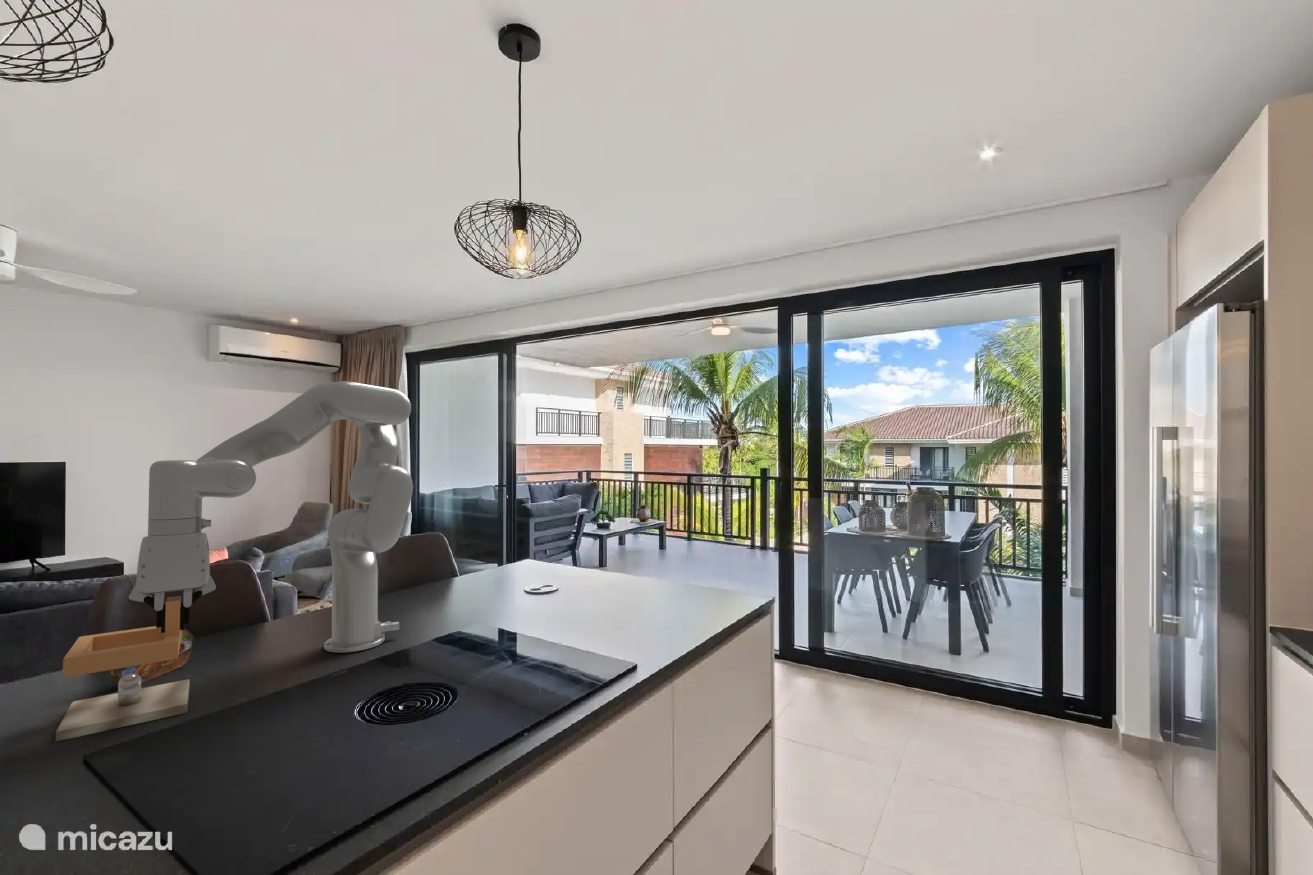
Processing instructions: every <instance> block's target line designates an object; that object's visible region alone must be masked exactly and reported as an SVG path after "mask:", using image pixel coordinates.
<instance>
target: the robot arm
mask: <svg viewBox="0 0 1313 875" xmlns="http://www.w3.org/2000/svg"><path fill="white" fill-rule="evenodd" d="M411 403H412V402H411V401H410V398H409V397H408V396H407V395H406V394H405V393H404V392H403V391H401V390H398V389H397V388H396V389H395V388H389V387H385V386H377V385H372V384H365V383H360V382H355V381H349V380H347V381H346V380H343V381H342V380H341V381H340V380H339V381H332V382H323V383H319V384H316V385H314V386H312V387H311V388H309V389H308V390H306V391H305V392H303V393H302V394H301V395H299V396H297V397H296V398H295V399H293V400H292V401H291V402H289V403H288V404H286V405H285V406H283V407H282V408H280V409H279V410H277V411H276V412H274V413H273V414H272V415H270V416H268V417H267V418H266V419H264V420H261V421H259V422H257V423H256V424H254V425H252V426H250V427H249V428H247V429H245V430H242V431H241V432H239V433H237V434H235V435H234V436H231V437H230V438H228V439H226V440H224V441H223V442H220V444H218V445H216V446H214V448H212V449H210V450H209V451H208V452H206V453H204V454H203V455H202V456H200V457H199V458H198V459H196V460H188V459H187V460H184V459H181V460H179V459H175V460H174V459H173V460H172V459H171V460H169V459H167V460H157V461H155V462H153V463H152V464H151V465H150V467H149V474H148V477H149V478H148V479H149V480H148V510H147V511H148V513H147V516H148V517H147V518H148V519H147V522H148V523H147V535H146V536H143V537H142V540H141V543H140V546H139V552H138V558H137V560H138V561H137V568H136V582H135V585H134V586H133V588H132V590H131V592H130V593H129V595H128V599H129V600H131V601H135V602H138V603H139V602H141V603H144V604H146V605H147V606H149V607H150V608H152V609H153V610H154V611H156V623H155V624H156V625H155V626H156V628H160V627H161V633H165V612H166V603H165V593H171V592H173V593H174V592H179V591H180V592H181V591H183V597H182V598H183V601H181V608H180V630H184V629H186V625H187V624H188V625H189V624H190V621H191V620H190V619H191V617H190V616H191V606H193V604H194V603H195V602H196V601H197V600H198V599H199V598H200V597H202V596H205V595H206V594H209V593H211V592H214V591H215V590H216V588H217V586H216V583H215V581H214V580H213V577H212V576H211V570H210V569H211V567H210V565H211V564H210V560H211V559H210V546H209V539H208V534H207V532H202V530H203V529H206V528H210V527H212V519H206V518H205V519H204V517H203V516H202V514H203V498H204V497H206V498H224V499H225V498H227V499H232V498H238V497H240V496H243V495H245V494H247V493H248V492H250V491H251V490H252V489H253V487H254V486H255V484H256V482H257V473H256V471H255V469H254V468H253V467H254V466H256V465H259V464H261V463H264V462H265V461H268V460H270V459H273V458H276V457H280V456H284V455H287V454H290V453H291V452H292V453H293V452H294V451H296V450H298V449H301V448H302V447H303V446H305V445H306V444H307V443H309V441H311V440H312V439H314V437H317V435H318V434H320V433H321V432H322V431H324V430H325V429H326V428H328V426H330V425H331V424H333V423H334V422H336V421H338V420H352V421H353V423H354V424H355V426H356V427H357V429H358V431H359V434H360V439H361V440H360V442H361V444H360V446H359V447H360V448H359V452H358V455H357V459H356V461H355V465H354V467H353V470H352V473H351V477H350V479H349V481H348V482H349V483H348V490H347V491H348V494H349V497H350V498H351V499H352V500H353V501H355V502H356V503H358V504H365V505H369V506H368V508H367V509H366V508H348V509H344V510H342V511H339V512H338V513H337V514H335V515H333V517H332V518H331V520H330V521H329V524H328V527H327V539H328V540H327V541H328V546H329V550H330V557H331V558H330V559H331V637H330V638H329V639H327V640H326V641H325V642H324V643H323V649H324V650H325V651H326V652H329V653H337V654H339V653H340V654H341V653H354V652H355V653H356V652H359V651H363V650H364V651H365V650H368V649H371V648H375V647H378V646H379V645H381V644H383V642H385V639H386V638H385V633H386V632H392V631H398V630H400V622H399V621H392V622H391V621H390V620H389V621H384V622H381V621H380V620H379V619H378V616H379V615H378V614H379V613H378V612H379V611H378V610H379V609H378V608H379V607H378V606H379V605H378V604H379V603H378V602H379V601H378V592H379V591H378V590H379V589H378V587H379V586H378V585H379V584H378V577H379V576H378V575H379V573H378V572H379V570H378V569H379V568H378V561H377V556H376V553H382V552H383V553H384V552H386V551H388V550H390V549H391V548H393V547H394V546H395V545H396V543H397V542H398V540H399V538H400V536H401V533H402V531H403V528H404V525H405V522H406V521H405V520H406V517H407V514H408V511H409V508H410V504H411V500H412V496H413V492H414V491H413V490H414V484H413V480H412V476H411V475H410V473H409V471H407V469H405V468H403V467H402V466H399V465H396V464H397V460H398V459H397V458H398V456H399V450H400V442H399V437H398V435H397V432H396V430H395V428H394V426H396V425H401V424H402V423H404V422H406V420H408V418H409V417H410V415H411V412H412V404H411ZM193 590H194V591H193ZM153 594H154V595H153Z"/></svg>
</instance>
